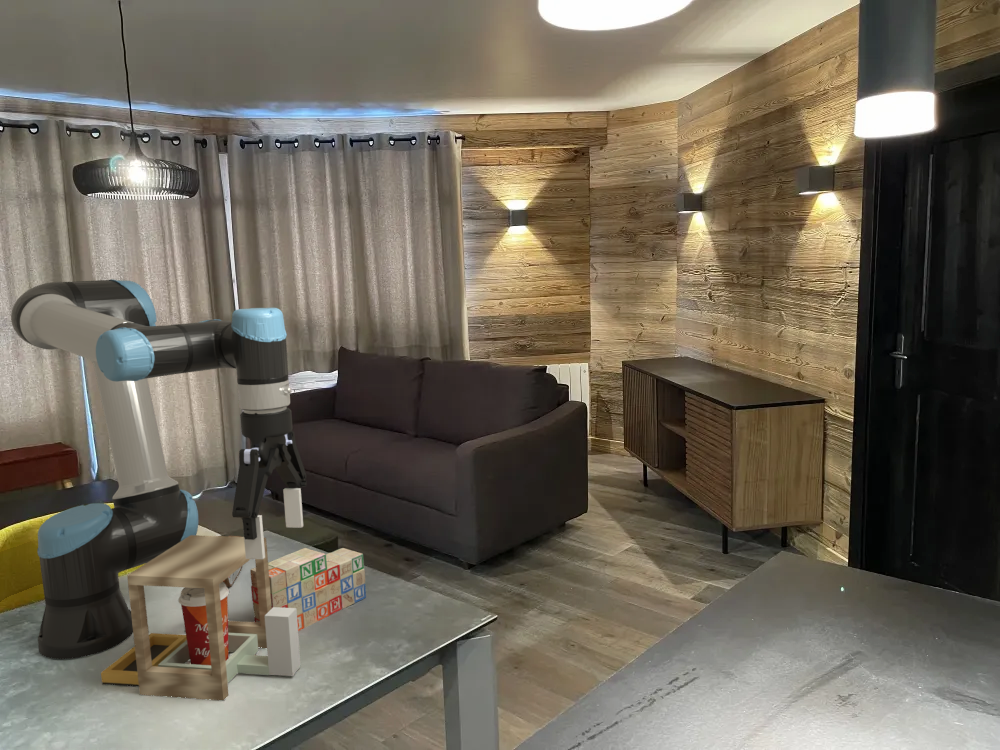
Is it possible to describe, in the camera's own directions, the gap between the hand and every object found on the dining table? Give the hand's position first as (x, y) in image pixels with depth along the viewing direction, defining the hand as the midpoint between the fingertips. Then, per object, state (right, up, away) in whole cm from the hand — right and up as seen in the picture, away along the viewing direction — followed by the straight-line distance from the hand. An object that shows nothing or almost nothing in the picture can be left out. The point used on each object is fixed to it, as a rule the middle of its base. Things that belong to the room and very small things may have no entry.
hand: (276, 541), depth 117 cm
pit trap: (-24, -22, +7) cm, 33 cm away
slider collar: (-8, -22, +5) cm, 23 cm away
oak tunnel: (-12, -22, +5) cm, 26 cm away
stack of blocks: (0, -19, +24) cm, 31 cm away
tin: (-22, -17, +41) cm, 50 cm away
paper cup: (-12, -22, +5) cm, 26 cm away
